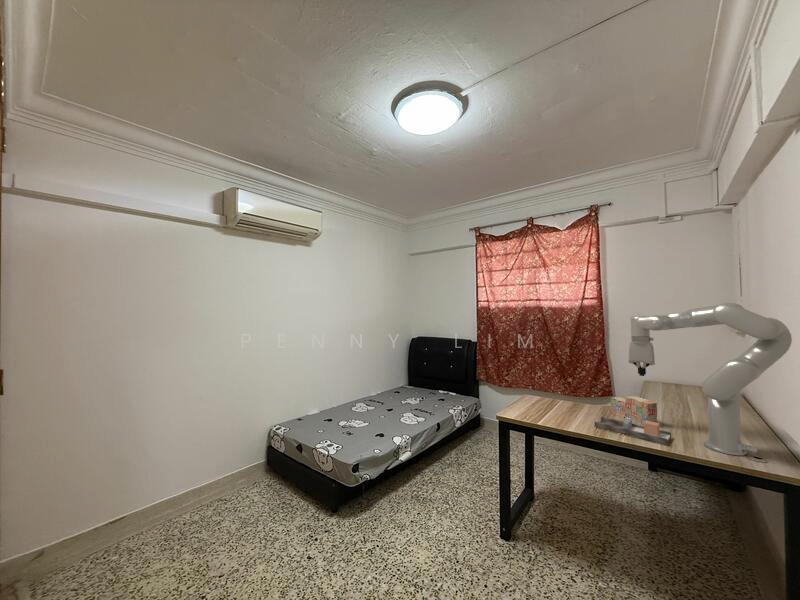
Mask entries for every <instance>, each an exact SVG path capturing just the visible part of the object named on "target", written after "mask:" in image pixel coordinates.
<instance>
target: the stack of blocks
mask: <svg viewBox="0 0 800 600" xmlns="http://www.w3.org/2000/svg"><path fill="white" fill-rule="evenodd" d="M611 411H613V412H615V413H618V414H621V415H624V416H626V417H628V418H630V419H632V420H635V421H637V422H639V423H641V424H643V425H642V426H644V422H645V421H646V420H647V421H652V422H656V423H658V402H656V401H655V402H654V401H652V400H650V399H646V398H641V397H639V396H635V395H632V396H631V395H630V396H625V398H623V397H620V396H614V397H610V412H611ZM641 424H640V425H641Z"/></svg>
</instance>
